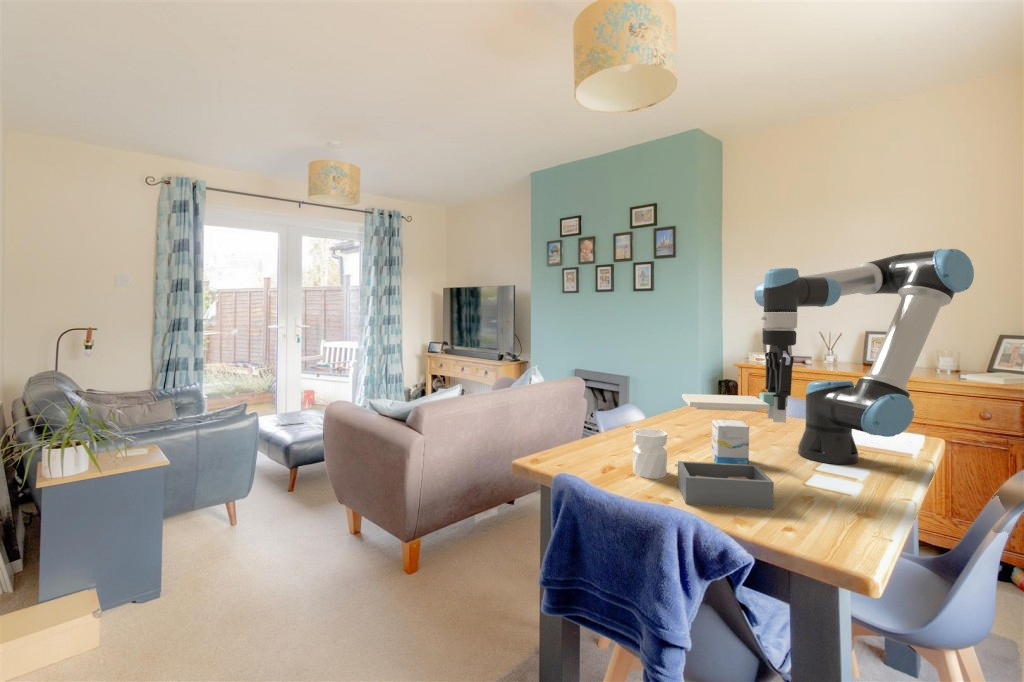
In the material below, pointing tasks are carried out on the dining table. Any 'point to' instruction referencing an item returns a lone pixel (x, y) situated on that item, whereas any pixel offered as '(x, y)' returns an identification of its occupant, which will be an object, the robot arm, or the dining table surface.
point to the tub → (725, 485)
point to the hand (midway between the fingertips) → (776, 420)
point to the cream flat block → (730, 401)
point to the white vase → (650, 453)
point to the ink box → (730, 442)
